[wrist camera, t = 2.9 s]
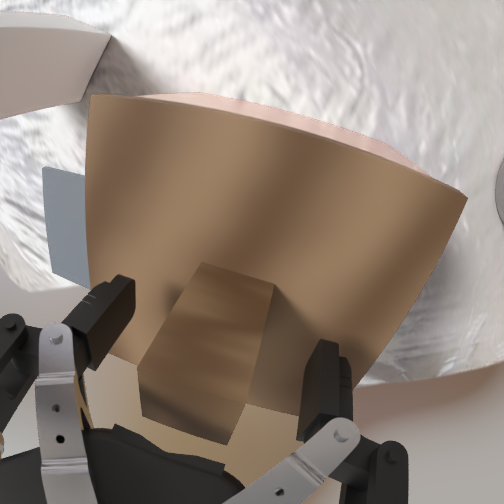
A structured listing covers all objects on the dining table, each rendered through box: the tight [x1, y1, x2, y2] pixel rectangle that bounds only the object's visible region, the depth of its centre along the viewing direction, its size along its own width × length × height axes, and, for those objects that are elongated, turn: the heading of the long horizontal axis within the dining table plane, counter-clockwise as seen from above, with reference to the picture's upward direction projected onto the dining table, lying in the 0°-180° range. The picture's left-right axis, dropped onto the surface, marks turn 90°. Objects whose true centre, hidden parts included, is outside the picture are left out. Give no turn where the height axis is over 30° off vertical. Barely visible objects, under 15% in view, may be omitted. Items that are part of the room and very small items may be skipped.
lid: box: [85, 94, 468, 445], centre depth 12 cm, size 16×16×7 cm
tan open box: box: [136, 92, 431, 177], centre depth 20 cm, size 15×15×12 cm
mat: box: [42, 167, 91, 290], centre depth 30 cm, size 14×14×1 cm
